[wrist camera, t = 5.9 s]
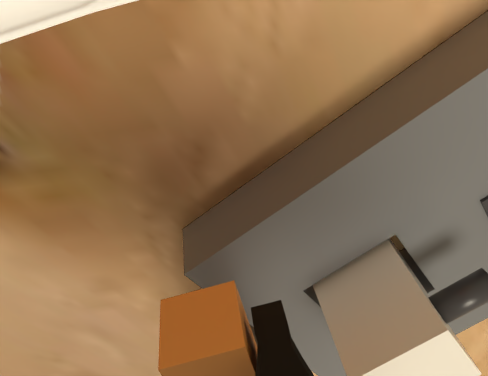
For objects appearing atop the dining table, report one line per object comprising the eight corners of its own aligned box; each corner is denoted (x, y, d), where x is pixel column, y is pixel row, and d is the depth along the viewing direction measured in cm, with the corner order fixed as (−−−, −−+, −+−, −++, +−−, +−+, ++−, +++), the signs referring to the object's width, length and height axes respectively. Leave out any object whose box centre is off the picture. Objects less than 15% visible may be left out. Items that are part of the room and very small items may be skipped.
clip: (269, 323, 24) (317, 522, 16) (230, 333, 24) (258, 538, 16) (216, 145, 17) (253, 344, 9) (160, 160, 17) (150, 372, 9)
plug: (435, 223, 22) (540, 345, 16) (334, 284, 23) (393, 417, 17) (406, 176, 20) (513, 295, 13) (297, 246, 21) (349, 382, 15)
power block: (629, 180, 22) (690, 215, 19) (326, 349, 27) (343, 396, 24) (588, -62, 15) (677, -57, 12) (182, 229, 19) (184, 277, 17)
